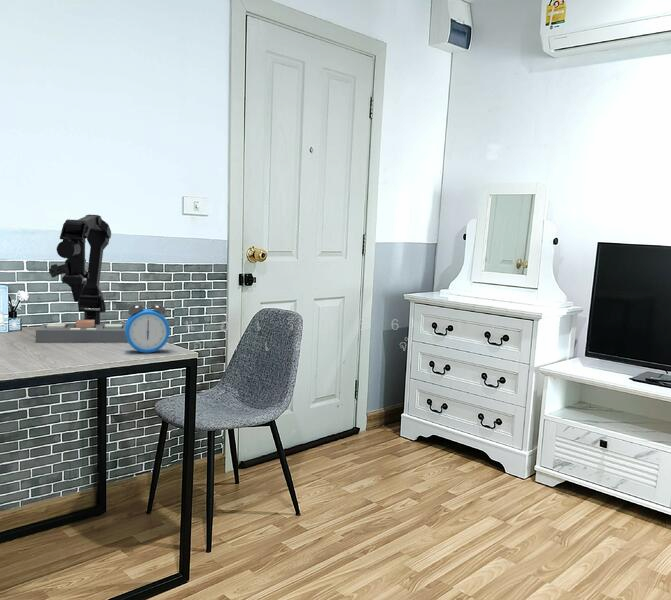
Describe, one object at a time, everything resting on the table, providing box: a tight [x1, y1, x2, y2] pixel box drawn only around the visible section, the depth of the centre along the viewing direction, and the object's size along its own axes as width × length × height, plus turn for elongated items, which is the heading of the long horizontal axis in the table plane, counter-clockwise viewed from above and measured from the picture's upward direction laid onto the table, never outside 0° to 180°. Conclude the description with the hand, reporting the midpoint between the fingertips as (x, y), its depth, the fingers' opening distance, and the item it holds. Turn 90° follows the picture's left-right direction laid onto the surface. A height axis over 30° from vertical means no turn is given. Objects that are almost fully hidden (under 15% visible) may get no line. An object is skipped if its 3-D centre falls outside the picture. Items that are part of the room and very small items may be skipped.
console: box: [35, 323, 128, 344], centre depth 209 cm, size 13×28×4 cm, turn 106°
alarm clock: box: [124, 303, 171, 354], centre depth 192 cm, size 13×6×15 cm, turn 112°
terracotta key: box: [75, 319, 95, 328], centre depth 210 cm, size 5×5×4 cm
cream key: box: [46, 323, 67, 328], centre depth 208 cm, size 5×5×4 cm
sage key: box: [104, 323, 123, 328], centre depth 213 cm, size 5×5×4 cm
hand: (76, 301), depth 214 cm, fingers closed
